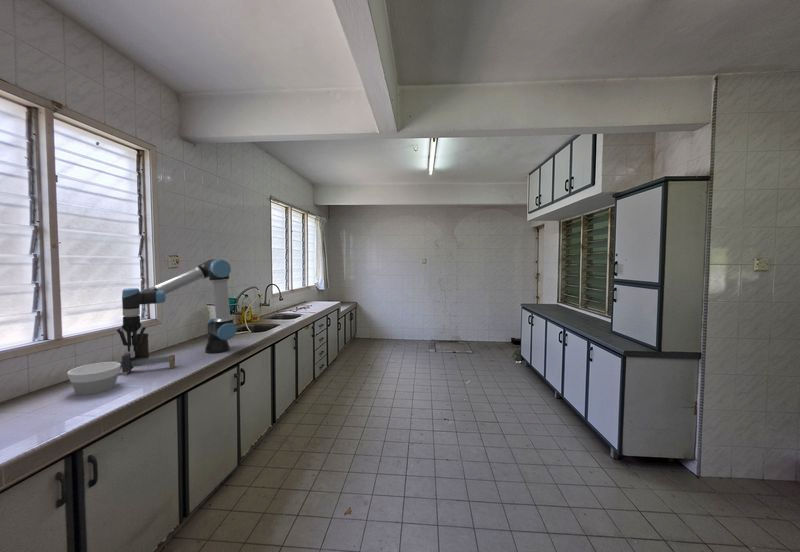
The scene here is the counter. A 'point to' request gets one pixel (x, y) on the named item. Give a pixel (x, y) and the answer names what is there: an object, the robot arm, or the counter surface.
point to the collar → (126, 362)
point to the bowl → (94, 377)
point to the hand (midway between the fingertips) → (132, 357)
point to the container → (142, 347)
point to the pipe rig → (151, 361)
